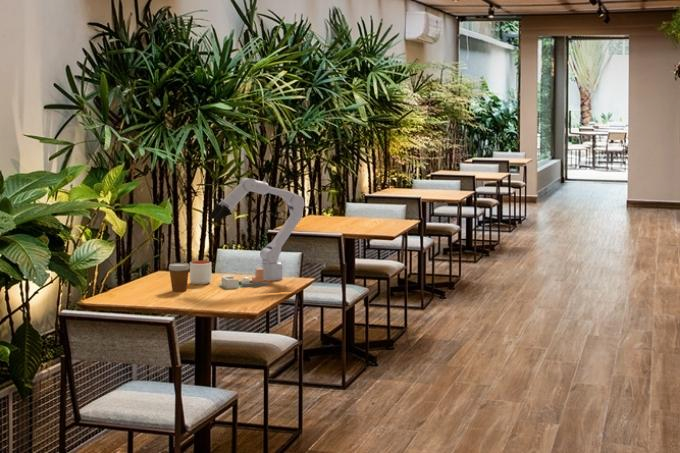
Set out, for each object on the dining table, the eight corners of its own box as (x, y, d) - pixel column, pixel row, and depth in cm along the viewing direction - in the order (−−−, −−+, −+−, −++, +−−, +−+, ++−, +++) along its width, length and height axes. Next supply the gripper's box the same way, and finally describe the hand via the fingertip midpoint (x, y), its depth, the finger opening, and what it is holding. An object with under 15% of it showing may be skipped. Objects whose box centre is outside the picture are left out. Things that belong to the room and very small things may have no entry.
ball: (248, 284, 469) (248, 275, 468) (250, 285, 465) (250, 277, 465) (240, 284, 467) (239, 276, 467) (242, 286, 464) (242, 277, 463)
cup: (213, 281, 481) (213, 260, 480) (208, 285, 471) (208, 264, 470) (192, 281, 482) (192, 260, 481) (187, 284, 472) (187, 263, 471)
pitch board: (259, 282, 479) (259, 272, 478) (269, 288, 466) (269, 277, 465) (216, 285, 470) (216, 275, 470) (225, 291, 458) (225, 280, 457)
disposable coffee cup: (185, 293, 452) (185, 266, 450) (165, 292, 454) (165, 265, 452) (193, 289, 461) (192, 263, 460) (173, 288, 463) (172, 262, 462)
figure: (260, 282, 472) (260, 267, 471) (264, 284, 467) (264, 269, 466) (252, 283, 470) (252, 268, 469) (255, 285, 466) (255, 270, 465)
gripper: (223, 190, 476) (203, 210, 473) (234, 193, 463) (213, 214, 460) (232, 200, 479) (212, 221, 476) (243, 204, 466) (223, 225, 463)
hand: (213, 218), depth 468 cm, fingers open, 7 cm apart
